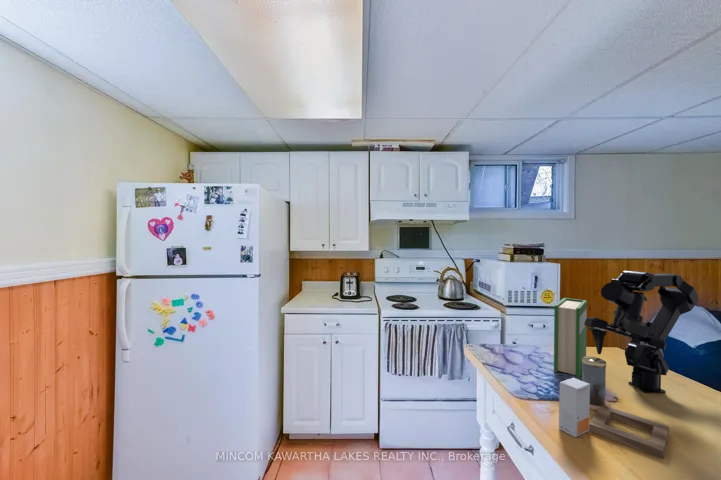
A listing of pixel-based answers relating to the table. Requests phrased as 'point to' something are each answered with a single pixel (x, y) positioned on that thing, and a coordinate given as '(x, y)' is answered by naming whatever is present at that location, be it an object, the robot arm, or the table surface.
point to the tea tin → (595, 378)
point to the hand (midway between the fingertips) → (616, 360)
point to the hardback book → (569, 335)
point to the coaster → (599, 406)
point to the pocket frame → (651, 446)
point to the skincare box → (574, 406)
